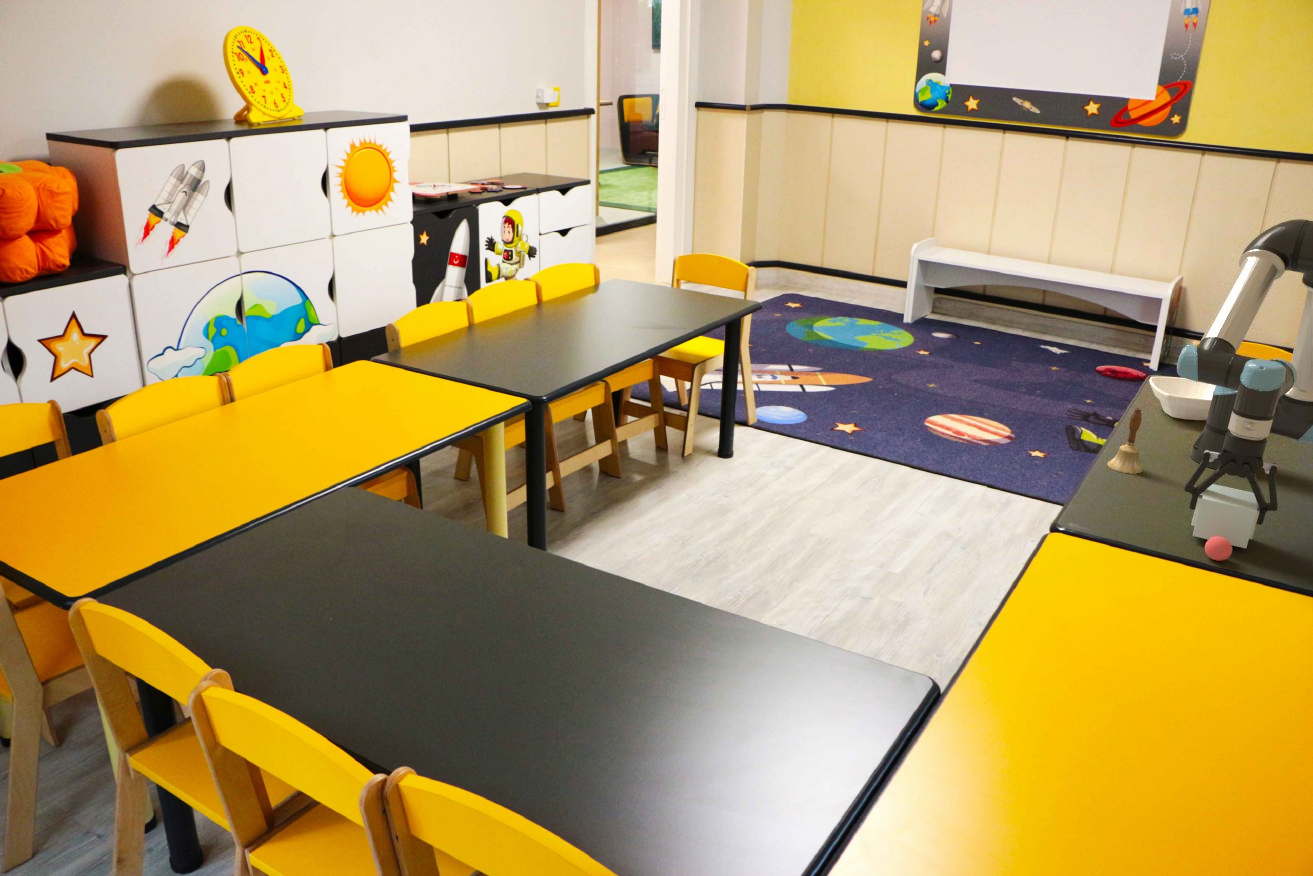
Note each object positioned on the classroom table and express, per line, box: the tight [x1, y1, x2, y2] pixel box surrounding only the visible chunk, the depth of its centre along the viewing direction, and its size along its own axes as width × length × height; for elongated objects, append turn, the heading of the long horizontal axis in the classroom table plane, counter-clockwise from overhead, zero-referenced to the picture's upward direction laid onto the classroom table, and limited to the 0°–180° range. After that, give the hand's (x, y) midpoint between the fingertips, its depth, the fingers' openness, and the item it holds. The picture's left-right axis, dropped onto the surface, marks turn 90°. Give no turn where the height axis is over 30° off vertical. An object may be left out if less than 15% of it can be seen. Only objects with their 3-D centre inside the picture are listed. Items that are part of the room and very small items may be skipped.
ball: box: [1204, 536, 1233, 562], centre depth 210 cm, size 5×5×5 cm
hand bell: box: [1106, 407, 1144, 475], centre depth 254 cm, size 8×8×16 cm
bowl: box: [1148, 376, 1216, 421], centre depth 295 cm, size 21×21×9 cm
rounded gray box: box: [1192, 483, 1258, 549], centre depth 218 cm, size 10×10×9 cm
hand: (1221, 529), depth 220 cm, fingers closed on rounded gray box, 10 cm apart
